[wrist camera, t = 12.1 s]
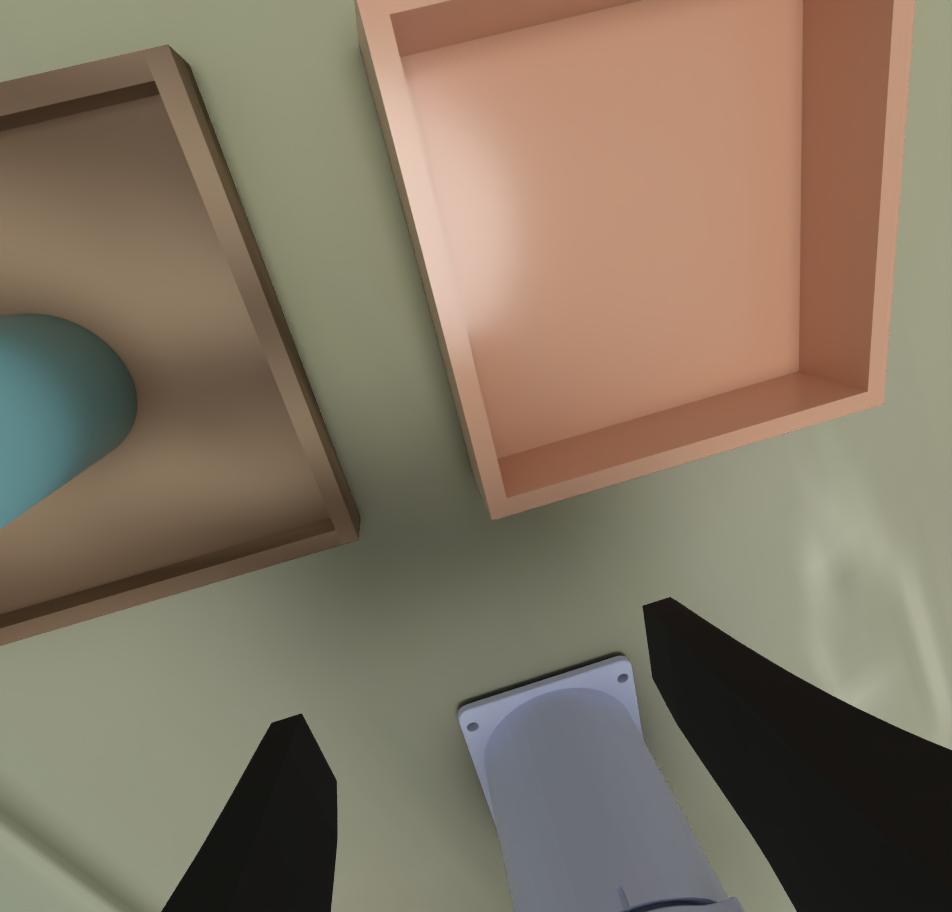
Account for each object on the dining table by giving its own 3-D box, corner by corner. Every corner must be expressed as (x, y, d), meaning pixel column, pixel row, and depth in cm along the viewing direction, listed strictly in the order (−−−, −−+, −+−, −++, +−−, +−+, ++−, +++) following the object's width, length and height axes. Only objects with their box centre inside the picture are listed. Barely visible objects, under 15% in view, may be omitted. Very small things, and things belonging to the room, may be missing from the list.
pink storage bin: (803, 379, 20) (883, 403, 17) (473, 475, 19) (492, 520, 16) (810, -61, 15) (927, -144, 12) (358, 44, 14) (352, -15, 11)
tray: (360, 518, 19) (358, 539, 18) (-32, 633, 18) (-66, 665, 17) (189, 64, 14) (167, 44, 12) (-384, 197, 13) (-477, 191, 11)
